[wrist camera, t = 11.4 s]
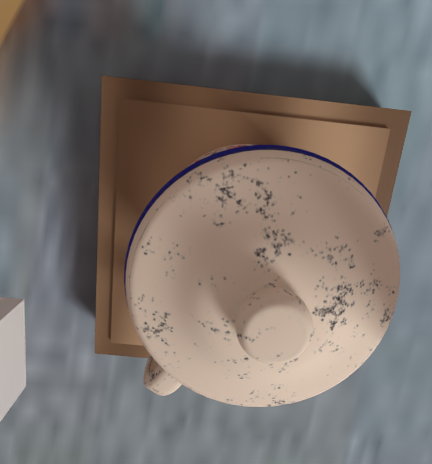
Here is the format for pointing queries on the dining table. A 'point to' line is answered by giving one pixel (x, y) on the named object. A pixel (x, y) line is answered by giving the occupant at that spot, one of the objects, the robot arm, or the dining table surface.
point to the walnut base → (201, 142)
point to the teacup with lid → (260, 276)
